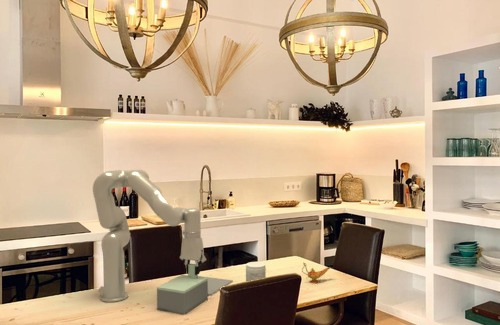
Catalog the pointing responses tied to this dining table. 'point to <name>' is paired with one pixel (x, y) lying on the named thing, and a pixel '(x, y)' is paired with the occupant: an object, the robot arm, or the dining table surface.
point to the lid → (183, 281)
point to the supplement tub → (255, 271)
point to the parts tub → (182, 299)
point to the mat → (216, 284)
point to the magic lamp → (315, 274)
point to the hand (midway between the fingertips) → (192, 273)
